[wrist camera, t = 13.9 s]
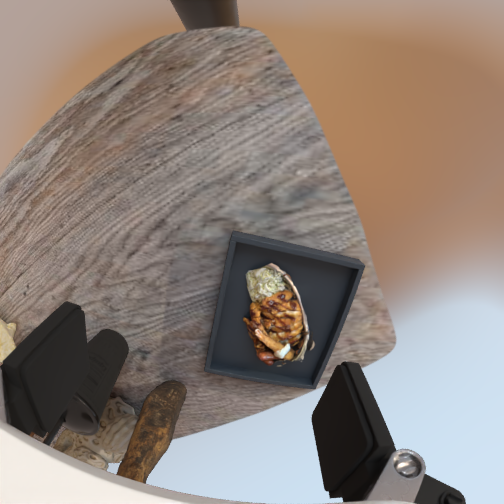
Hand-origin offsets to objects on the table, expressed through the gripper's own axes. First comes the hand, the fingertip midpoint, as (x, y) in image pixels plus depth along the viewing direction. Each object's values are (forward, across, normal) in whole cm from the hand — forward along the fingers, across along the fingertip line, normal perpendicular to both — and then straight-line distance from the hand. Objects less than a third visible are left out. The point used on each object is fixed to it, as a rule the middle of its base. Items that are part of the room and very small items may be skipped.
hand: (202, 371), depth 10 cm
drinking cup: (+22, +13, +19) cm, 32 cm away
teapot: (+22, +14, +33) cm, 42 cm away
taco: (+21, -6, +9) cm, 24 cm away
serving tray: (+22, -7, +9) cm, 25 cm away
